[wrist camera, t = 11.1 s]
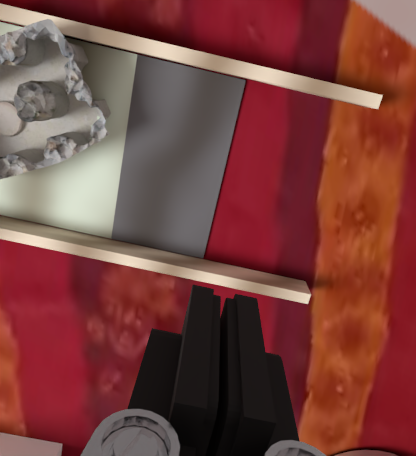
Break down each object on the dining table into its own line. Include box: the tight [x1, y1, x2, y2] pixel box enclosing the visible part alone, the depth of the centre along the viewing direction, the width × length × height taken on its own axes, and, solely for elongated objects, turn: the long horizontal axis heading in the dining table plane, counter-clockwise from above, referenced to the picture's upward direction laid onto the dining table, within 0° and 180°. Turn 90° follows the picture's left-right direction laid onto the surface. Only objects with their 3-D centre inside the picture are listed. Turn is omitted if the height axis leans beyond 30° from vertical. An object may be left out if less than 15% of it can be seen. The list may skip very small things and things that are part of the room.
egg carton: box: [0, 19, 111, 179], centre depth 24 cm, size 11×8×4 cm
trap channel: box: [0, 4, 383, 304], centre depth 26 cm, size 32×15×2 cm, turn 78°
